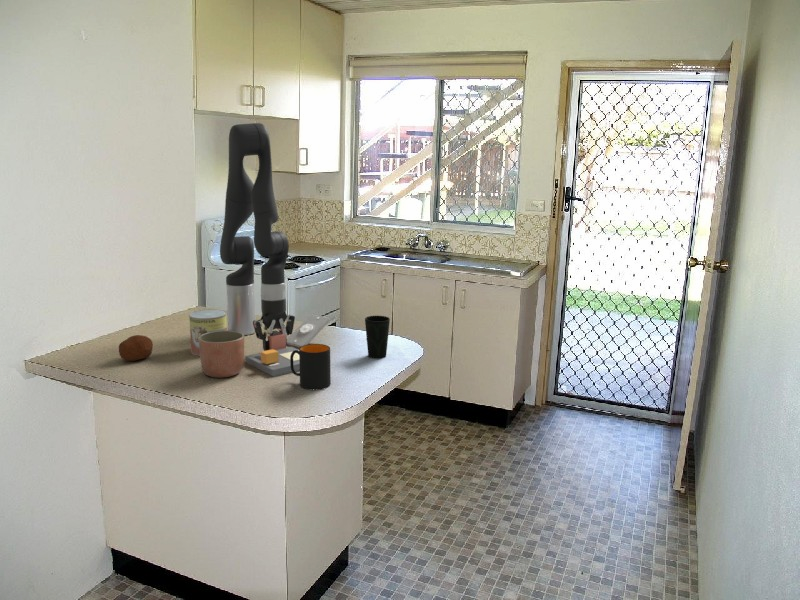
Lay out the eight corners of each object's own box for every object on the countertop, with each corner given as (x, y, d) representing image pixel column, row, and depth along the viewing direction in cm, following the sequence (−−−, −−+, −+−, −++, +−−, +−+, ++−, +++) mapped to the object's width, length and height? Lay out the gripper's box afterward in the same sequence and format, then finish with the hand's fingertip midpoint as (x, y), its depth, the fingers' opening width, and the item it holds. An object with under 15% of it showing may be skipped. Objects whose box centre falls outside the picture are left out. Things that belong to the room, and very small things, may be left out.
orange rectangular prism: (261, 361, 194) (260, 351, 194) (273, 359, 197) (273, 349, 196) (266, 364, 192) (265, 354, 191) (278, 361, 195) (278, 351, 194)
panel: (245, 362, 201) (245, 355, 200) (292, 352, 211) (291, 346, 210) (272, 376, 189) (272, 369, 188) (320, 365, 199) (320, 358, 199)
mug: (299, 375, 190) (298, 340, 188) (336, 382, 185) (335, 346, 183) (282, 384, 183) (281, 348, 180) (320, 391, 178) (319, 354, 176)
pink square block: (264, 352, 211) (263, 331, 210) (278, 349, 214) (277, 328, 213) (272, 356, 207) (271, 334, 206) (286, 353, 211) (285, 332, 209)
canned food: (183, 354, 208) (181, 316, 206) (203, 344, 219) (201, 308, 216) (216, 357, 205) (214, 319, 203) (234, 347, 216) (233, 311, 213)
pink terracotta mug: (223, 363, 200) (221, 328, 197) (254, 371, 194) (253, 334, 191) (190, 375, 189) (188, 338, 187) (223, 383, 183) (221, 345, 181)
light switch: (282, 339, 219) (310, 311, 228) (289, 352, 223) (316, 325, 231) (300, 344, 214) (328, 315, 222) (307, 357, 217) (334, 329, 226)
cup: (359, 355, 209) (359, 318, 206) (377, 350, 214) (377, 314, 212) (377, 361, 204) (377, 323, 201) (394, 356, 209) (395, 318, 206)
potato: (112, 362, 200) (110, 337, 198) (141, 352, 209) (139, 329, 208) (131, 366, 196) (129, 341, 194) (160, 357, 205) (159, 333, 204)
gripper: (258, 302, 200) (260, 357, 203) (299, 296, 209) (301, 348, 212) (246, 297, 205) (248, 351, 209) (287, 291, 214) (288, 343, 218)
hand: (275, 349), depth 211 cm, fingers closed on pink square block, 5 cm apart
